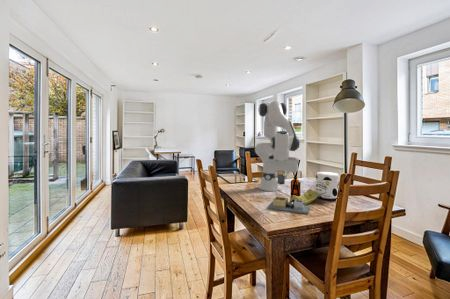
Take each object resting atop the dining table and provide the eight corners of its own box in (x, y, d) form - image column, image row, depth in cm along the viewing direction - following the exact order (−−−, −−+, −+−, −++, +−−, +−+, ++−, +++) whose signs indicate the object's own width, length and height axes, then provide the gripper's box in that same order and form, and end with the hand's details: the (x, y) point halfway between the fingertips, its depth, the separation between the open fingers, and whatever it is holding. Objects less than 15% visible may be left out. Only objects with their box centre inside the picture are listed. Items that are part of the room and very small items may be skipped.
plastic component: (303, 203, 157) (292, 193, 164) (299, 211, 161) (288, 202, 167) (320, 196, 169) (308, 187, 176) (316, 204, 173) (305, 195, 179)
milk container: (312, 199, 175) (313, 174, 173) (315, 193, 190) (316, 170, 189) (338, 202, 167) (340, 176, 165) (340, 196, 182) (341, 172, 181)
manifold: (272, 203, 164) (272, 195, 164) (309, 208, 154) (310, 199, 154) (268, 208, 153) (268, 199, 153) (307, 214, 143) (308, 205, 143)
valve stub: (278, 182, 158) (278, 170, 157) (285, 183, 156) (285, 170, 155) (276, 183, 154) (277, 171, 153) (283, 184, 152) (284, 171, 151)
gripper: (299, 157, 152) (298, 178, 153) (267, 155, 160) (267, 175, 162) (297, 158, 146) (297, 180, 147) (264, 156, 155) (264, 177, 156)
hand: (281, 178), depth 154 cm, fingers closed on valve stub, 4 cm apart
